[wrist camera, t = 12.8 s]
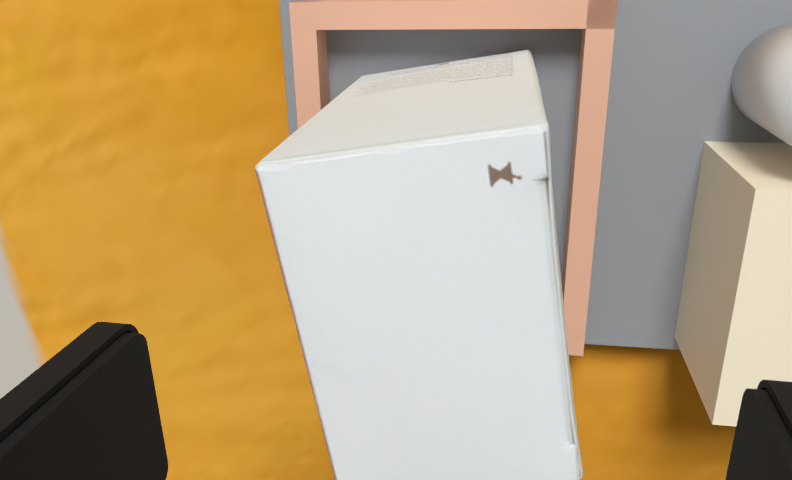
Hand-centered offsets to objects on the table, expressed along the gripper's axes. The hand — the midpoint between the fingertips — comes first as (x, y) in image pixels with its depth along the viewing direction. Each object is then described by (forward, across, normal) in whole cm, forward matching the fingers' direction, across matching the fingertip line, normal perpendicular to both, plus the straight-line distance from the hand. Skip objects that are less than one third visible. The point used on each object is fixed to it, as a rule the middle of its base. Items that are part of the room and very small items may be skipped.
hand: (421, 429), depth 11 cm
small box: (+14, +1, 0) cm, 14 cm away
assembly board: (+15, -2, 0) cm, 15 cm away
